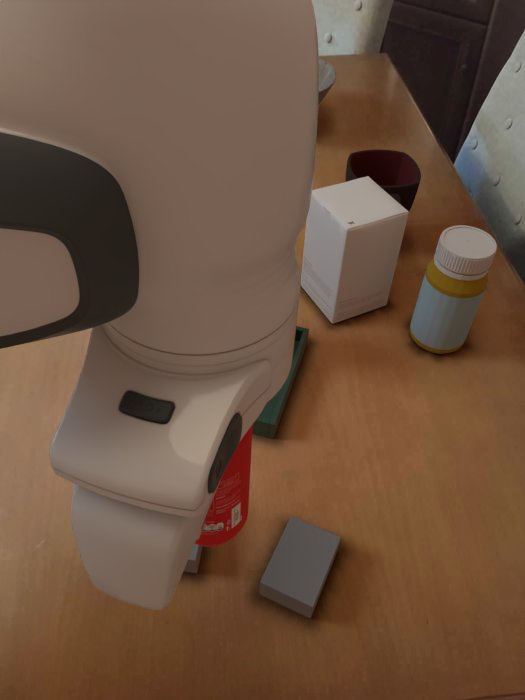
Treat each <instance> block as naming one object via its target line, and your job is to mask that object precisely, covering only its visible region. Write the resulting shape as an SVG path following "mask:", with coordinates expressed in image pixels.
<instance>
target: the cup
mask: <svg viewBox="0 0 525 700" xmlns="http://www.w3.org/2000/svg"><path fill="white" fill-rule="evenodd" d="M367 176H369V177H370V178H371V179H372V180H373V181H374V182H375V183H376V184H377V185H379V186H380V187H381V188H382V189H383V190H384V191H385V192H387V193H388V194H389V195H390V196H391V197H392V198H393V199H395V200H396V201H397V202H398V203H399V204H400V205H402V206H403V207H404V208H405V209H406V210H407V211H409V213H410V212H411V209H412V207H413V205H414V202H415V200H416V197H417V194H418V191H419V188H420V183H421V180H422V172H421V169H420V167H419V165H418V164H417V162H416V160H415V159H414V158H412V157H411V156H410V155H409V154H408V153H406V152H404V151H399V150H393V149H378V148H377V149H364V150H358V151H353V152H350V154H349V156H348V157H347V161H346V168H345V179H344V180H345V181H344V182H348V181H351V180H354V179H358V178H362V177H367Z"/></svg>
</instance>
